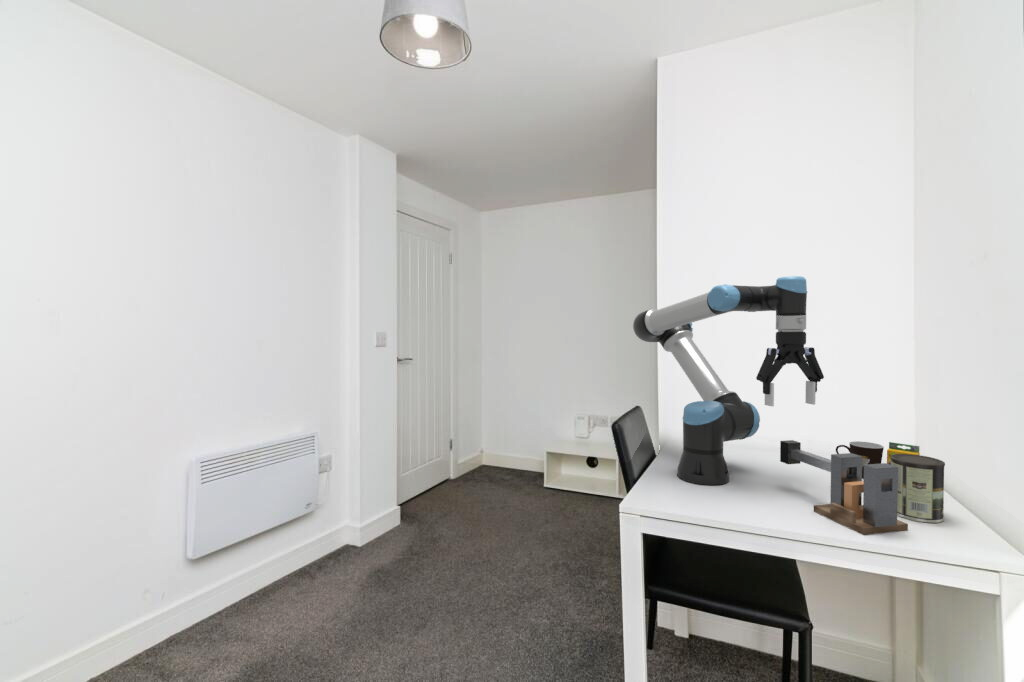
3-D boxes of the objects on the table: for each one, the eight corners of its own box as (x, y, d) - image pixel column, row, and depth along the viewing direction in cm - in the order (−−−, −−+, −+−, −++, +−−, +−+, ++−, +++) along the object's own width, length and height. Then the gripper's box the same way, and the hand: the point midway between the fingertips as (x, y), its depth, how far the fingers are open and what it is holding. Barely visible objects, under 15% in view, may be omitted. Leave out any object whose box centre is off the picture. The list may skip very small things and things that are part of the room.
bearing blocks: (830, 507, 119) (831, 454, 119) (850, 505, 120) (851, 453, 120) (875, 527, 107) (876, 468, 107) (897, 525, 108) (898, 466, 108)
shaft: (780, 461, 137) (780, 440, 137) (792, 460, 138) (792, 440, 138) (838, 483, 118) (838, 459, 118) (851, 482, 119) (852, 458, 118)
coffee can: (924, 508, 122) (925, 454, 122) (955, 524, 112) (956, 465, 112) (880, 505, 124) (881, 452, 123) (906, 522, 114) (907, 464, 113)
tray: (813, 511, 121) (813, 495, 120) (853, 507, 123) (853, 492, 123) (863, 534, 107) (864, 517, 107) (907, 530, 109) (908, 513, 109)
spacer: (843, 515, 114) (844, 482, 114) (870, 512, 116) (871, 480, 116) (851, 518, 112) (852, 485, 112) (878, 515, 114) (879, 482, 114)
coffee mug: (890, 479, 145) (890, 447, 144) (869, 482, 142) (869, 449, 142) (853, 468, 156) (853, 438, 156) (833, 470, 153) (833, 440, 153)
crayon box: (886, 481, 143) (886, 443, 143) (888, 479, 145) (888, 441, 145) (917, 487, 138) (918, 447, 137) (919, 485, 140) (919, 446, 139)
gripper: (761, 331, 129) (760, 408, 130) (839, 330, 134) (838, 405, 134) (743, 331, 136) (742, 404, 137) (817, 330, 141) (816, 401, 142)
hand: (789, 404), depth 136 cm, fingers open, 13 cm apart
